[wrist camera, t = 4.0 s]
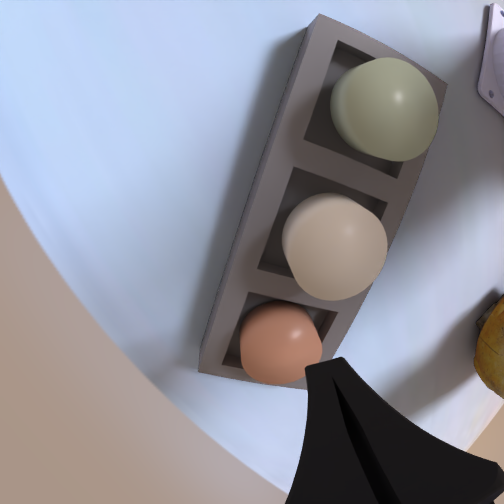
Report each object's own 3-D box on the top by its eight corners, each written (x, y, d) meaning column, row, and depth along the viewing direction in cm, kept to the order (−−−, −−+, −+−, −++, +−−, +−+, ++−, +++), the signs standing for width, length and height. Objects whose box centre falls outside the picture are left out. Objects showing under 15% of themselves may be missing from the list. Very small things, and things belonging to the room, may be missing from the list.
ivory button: (380, 209, 13) (402, 223, 11) (347, 286, 15) (361, 308, 13) (300, 179, 13) (313, 189, 11) (268, 266, 14) (275, 288, 12)
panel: (425, 86, 13) (447, 84, 11) (305, 368, 20) (312, 390, 18) (307, 26, 12) (319, 13, 10) (199, 349, 18) (198, 371, 16)
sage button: (422, 91, 11) (448, 89, 9) (396, 169, 13) (420, 177, 11) (346, 49, 11) (365, 39, 9) (317, 134, 12) (333, 136, 10)
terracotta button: (324, 309, 16) (335, 331, 14) (296, 364, 18) (303, 388, 16) (253, 292, 16) (256, 315, 14) (230, 352, 17) (231, 377, 15)
